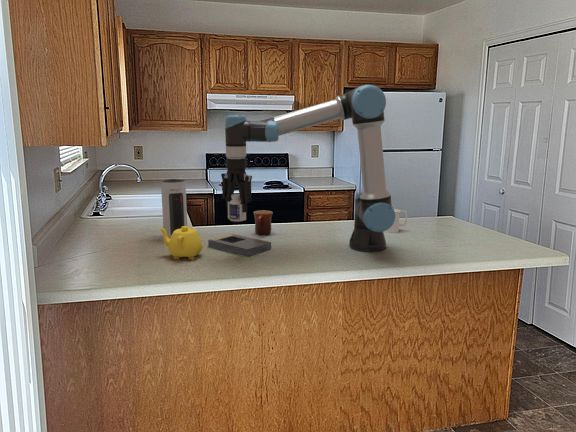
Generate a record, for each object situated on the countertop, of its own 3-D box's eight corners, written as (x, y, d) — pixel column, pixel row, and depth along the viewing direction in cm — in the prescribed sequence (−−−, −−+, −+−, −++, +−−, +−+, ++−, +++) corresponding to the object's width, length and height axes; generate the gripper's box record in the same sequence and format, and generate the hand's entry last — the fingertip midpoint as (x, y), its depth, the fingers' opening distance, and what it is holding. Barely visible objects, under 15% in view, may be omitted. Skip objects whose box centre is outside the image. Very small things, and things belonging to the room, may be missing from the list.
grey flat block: (271, 249, 197) (271, 242, 197) (247, 256, 186) (247, 249, 186) (232, 240, 211) (232, 233, 210) (208, 247, 200) (208, 239, 199)
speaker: (162, 242, 207) (160, 181, 201) (163, 236, 217) (161, 178, 211) (188, 241, 209) (186, 180, 203) (187, 235, 219) (186, 177, 213)
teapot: (189, 249, 196) (188, 220, 194) (210, 256, 186) (210, 226, 184) (158, 255, 187) (157, 225, 184) (179, 264, 177) (178, 232, 174)
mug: (256, 231, 228) (256, 209, 226) (274, 232, 226) (274, 210, 224) (249, 237, 216) (249, 214, 214) (268, 238, 214) (268, 215, 212)
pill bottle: (238, 222, 180) (238, 196, 178) (226, 220, 183) (226, 195, 181) (247, 219, 185) (246, 194, 183) (235, 218, 187) (235, 193, 185)
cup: (407, 233, 227) (409, 212, 225) (381, 232, 228) (382, 211, 226) (405, 229, 235) (406, 209, 233) (380, 228, 236) (381, 208, 234)
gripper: (261, 158, 177) (262, 221, 181) (225, 155, 187) (226, 214, 192) (247, 160, 171) (248, 224, 175) (211, 157, 182) (212, 217, 186)
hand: (237, 219), depth 184 cm, fingers closed on pill bottle, 5 cm apart
